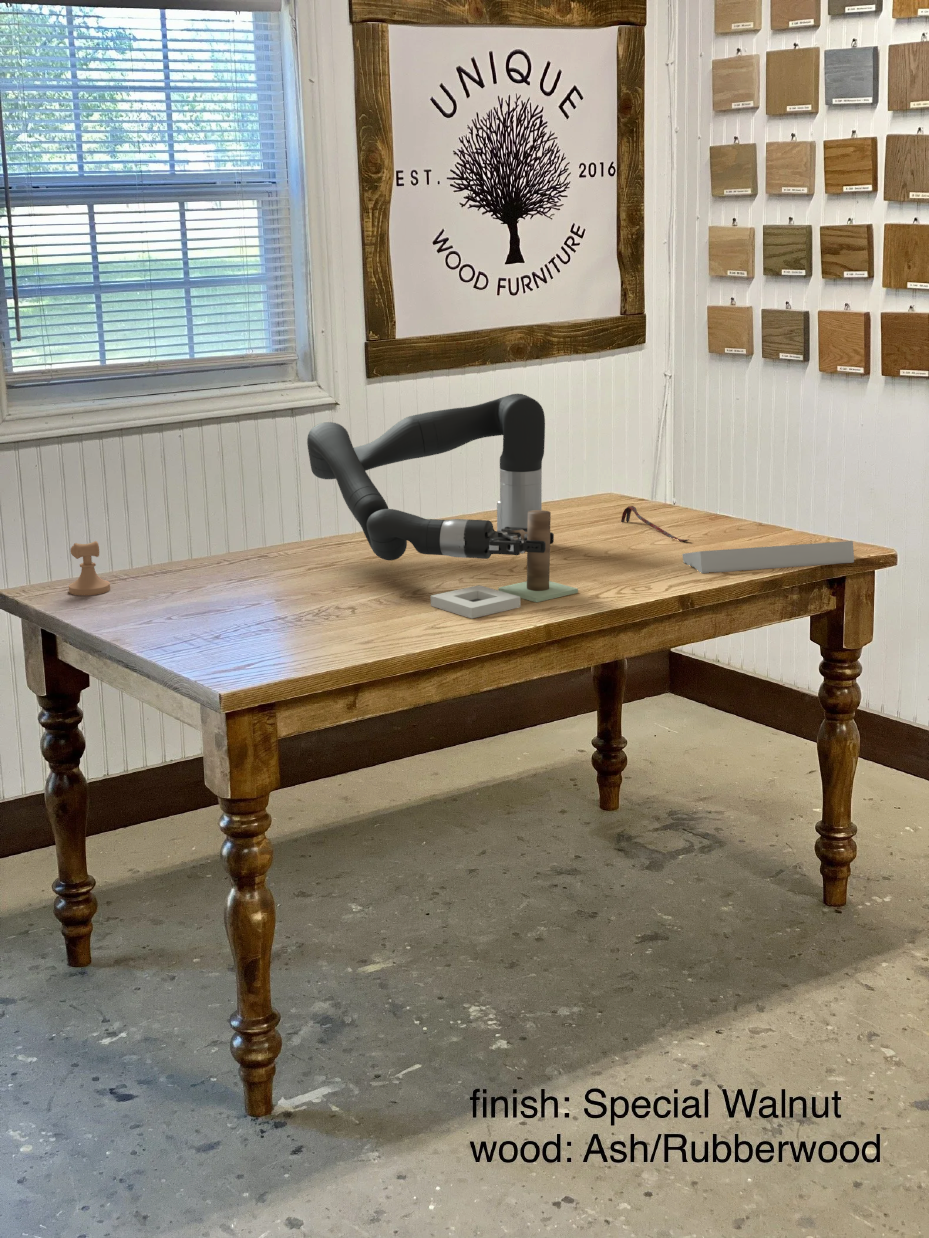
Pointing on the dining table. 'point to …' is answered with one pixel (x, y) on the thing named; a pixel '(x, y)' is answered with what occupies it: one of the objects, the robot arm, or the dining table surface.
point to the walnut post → (538, 561)
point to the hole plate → (475, 601)
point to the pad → (537, 596)
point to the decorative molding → (771, 557)
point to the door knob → (87, 571)
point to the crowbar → (632, 508)
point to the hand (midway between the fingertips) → (549, 542)
